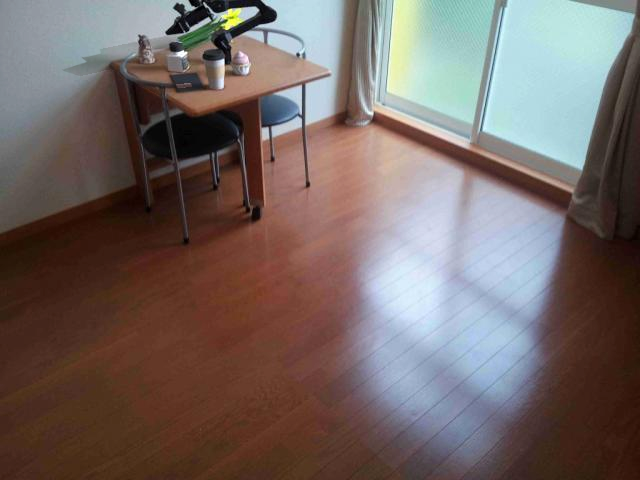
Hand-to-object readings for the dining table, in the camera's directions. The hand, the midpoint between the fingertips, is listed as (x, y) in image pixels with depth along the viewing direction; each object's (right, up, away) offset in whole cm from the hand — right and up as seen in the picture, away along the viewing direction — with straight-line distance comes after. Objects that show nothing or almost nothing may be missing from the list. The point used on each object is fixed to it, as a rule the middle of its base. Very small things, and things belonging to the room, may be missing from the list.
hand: (165, 33), depth 250 cm
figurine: (-13, -7, +16) cm, 22 cm away
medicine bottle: (+4, -13, +9) cm, 16 cm away
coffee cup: (+24, -26, -7) cm, 36 cm away
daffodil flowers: (+13, +7, +37) cm, 40 cm away
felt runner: (+10, -22, -4) cm, 25 cm away
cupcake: (+32, -16, +6) cm, 36 cm away
